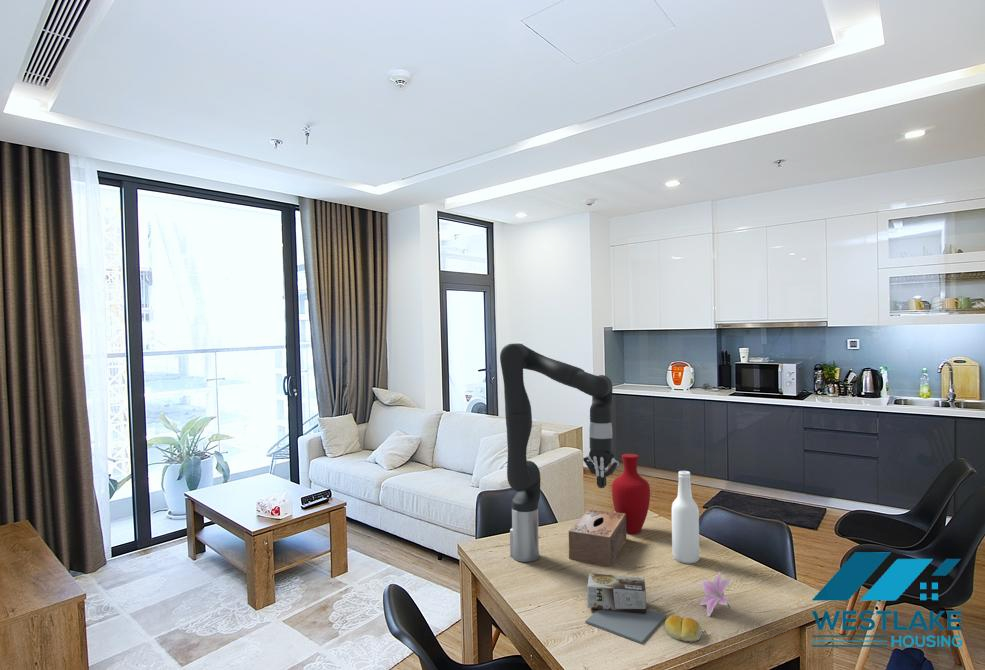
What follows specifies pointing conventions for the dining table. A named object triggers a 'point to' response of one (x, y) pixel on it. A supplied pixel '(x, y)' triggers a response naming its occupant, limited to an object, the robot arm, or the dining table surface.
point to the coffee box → (617, 593)
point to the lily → (714, 592)
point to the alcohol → (685, 523)
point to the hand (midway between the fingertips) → (601, 487)
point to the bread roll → (683, 628)
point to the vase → (631, 495)
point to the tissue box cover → (597, 537)
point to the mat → (627, 623)
